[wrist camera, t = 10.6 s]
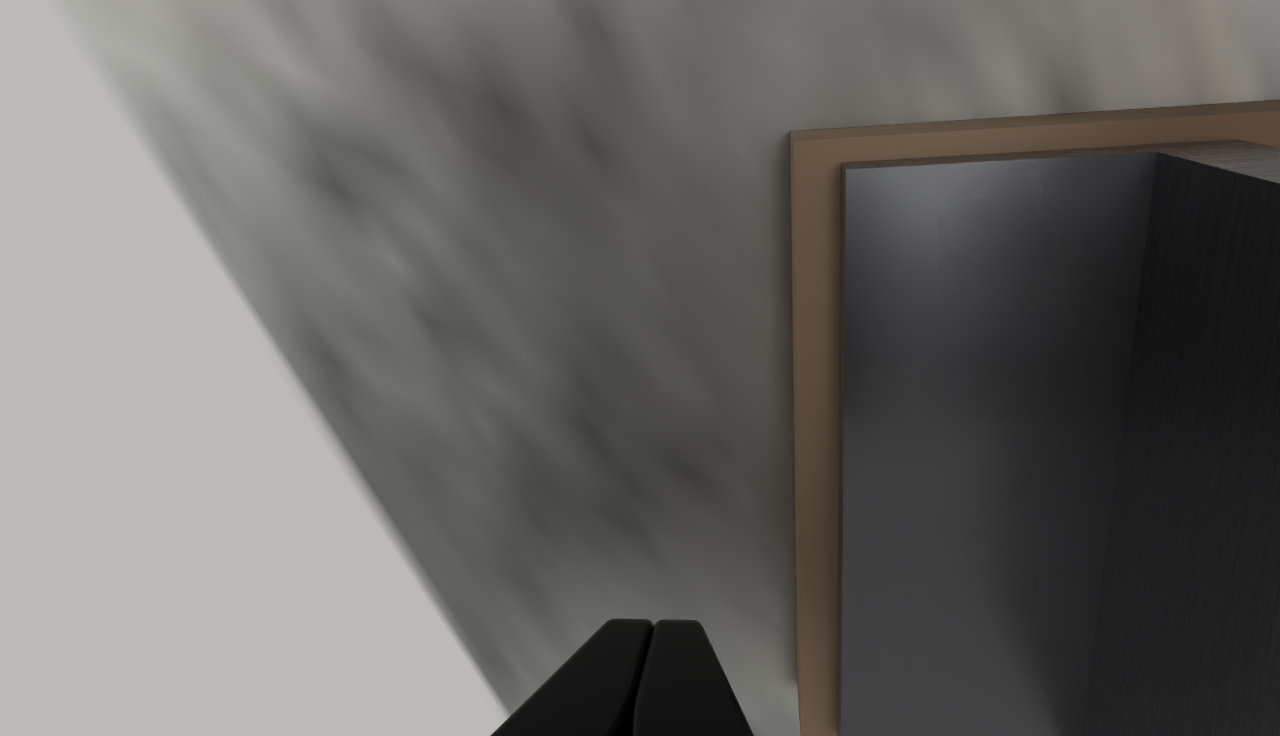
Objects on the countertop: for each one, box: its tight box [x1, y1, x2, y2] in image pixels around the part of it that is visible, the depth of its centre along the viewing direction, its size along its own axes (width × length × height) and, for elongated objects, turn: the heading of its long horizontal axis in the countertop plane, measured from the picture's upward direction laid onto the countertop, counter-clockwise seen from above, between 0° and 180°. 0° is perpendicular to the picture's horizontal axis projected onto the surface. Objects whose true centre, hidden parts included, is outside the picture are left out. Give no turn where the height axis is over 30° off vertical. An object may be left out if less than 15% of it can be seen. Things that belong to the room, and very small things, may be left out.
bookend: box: [837, 139, 1280, 736], centre depth 8 cm, size 4×8×5 cm, turn 4°
